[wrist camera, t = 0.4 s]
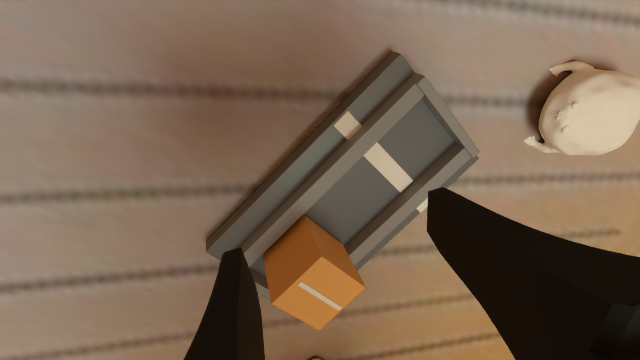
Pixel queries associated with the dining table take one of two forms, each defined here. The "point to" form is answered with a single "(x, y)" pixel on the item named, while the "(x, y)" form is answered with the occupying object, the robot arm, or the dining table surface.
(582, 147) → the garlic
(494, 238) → the robot arm
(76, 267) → the dining table surface
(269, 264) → the fader tab
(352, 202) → the fader console
